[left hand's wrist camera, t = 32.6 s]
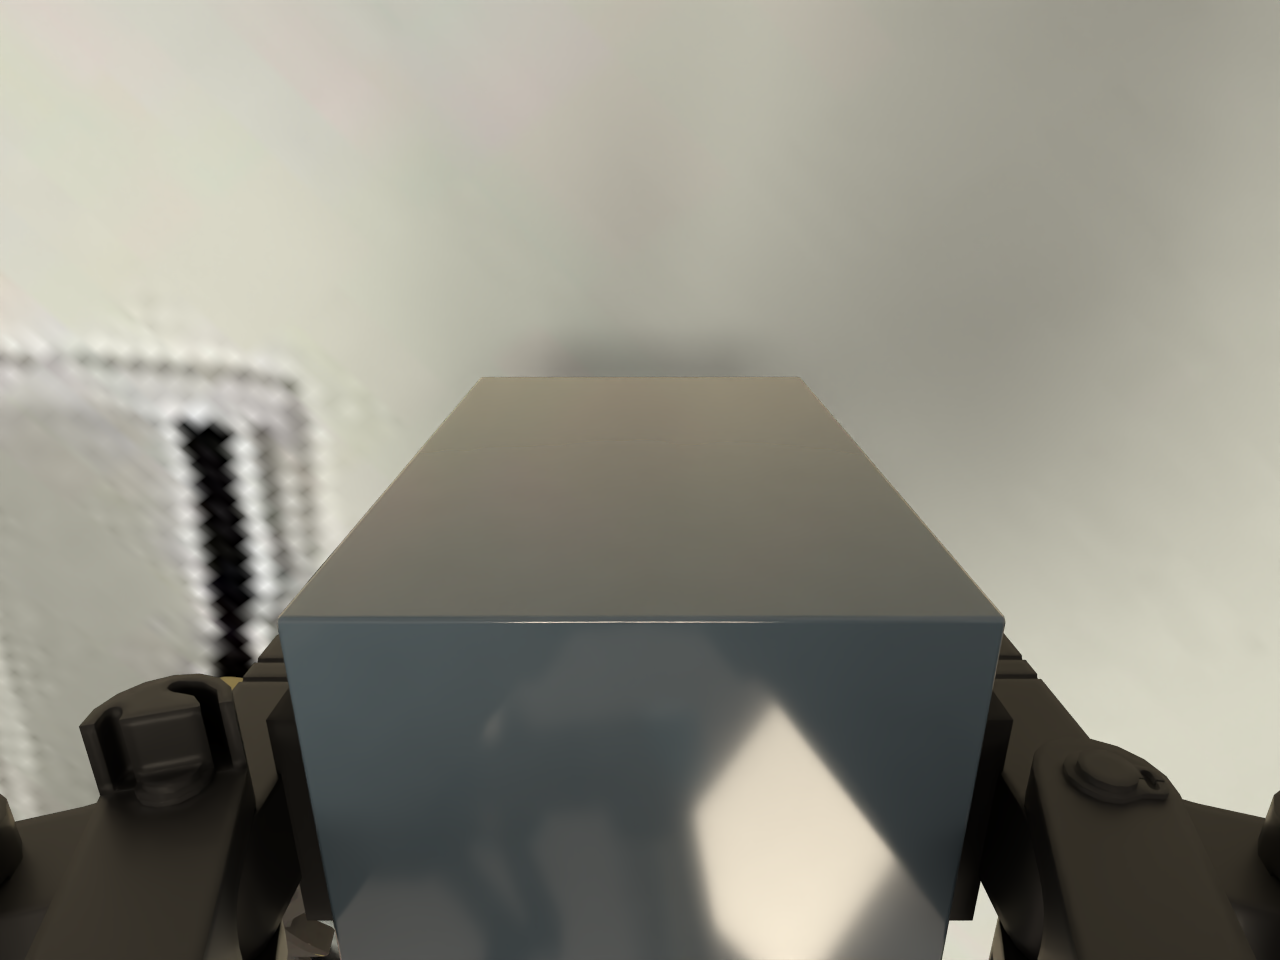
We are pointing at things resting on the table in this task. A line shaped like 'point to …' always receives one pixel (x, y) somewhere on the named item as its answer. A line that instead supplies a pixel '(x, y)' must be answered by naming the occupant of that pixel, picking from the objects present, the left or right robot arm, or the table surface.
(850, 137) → the table surface
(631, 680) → the block
